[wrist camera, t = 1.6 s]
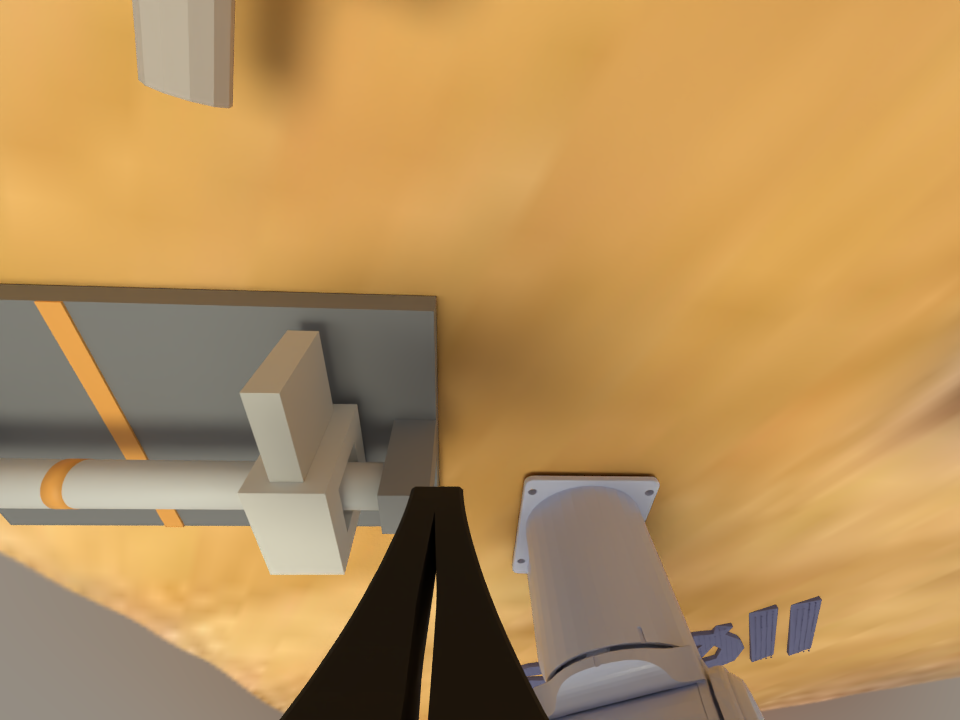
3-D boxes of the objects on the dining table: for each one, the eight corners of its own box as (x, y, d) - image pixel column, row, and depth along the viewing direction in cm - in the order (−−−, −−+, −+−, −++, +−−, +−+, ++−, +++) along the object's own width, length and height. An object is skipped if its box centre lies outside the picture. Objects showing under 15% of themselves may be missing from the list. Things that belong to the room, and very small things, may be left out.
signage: (517, 706, 42) (484, 666, 37) (516, 697, 43) (484, 657, 38) (813, 654, 38) (822, 601, 32) (808, 646, 38) (816, 591, 33)
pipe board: (439, 505, 26) (432, 605, 21) (34, 502, 25) (-78, 608, 19) (436, 296, 18) (424, 373, 13) (-148, 280, 17) (-408, 357, 12)
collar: (368, 480, 21) (344, 574, 17) (309, 479, 21) (270, 574, 17) (345, 325, 17) (303, 403, 12) (268, 323, 16) (200, 402, 12)
